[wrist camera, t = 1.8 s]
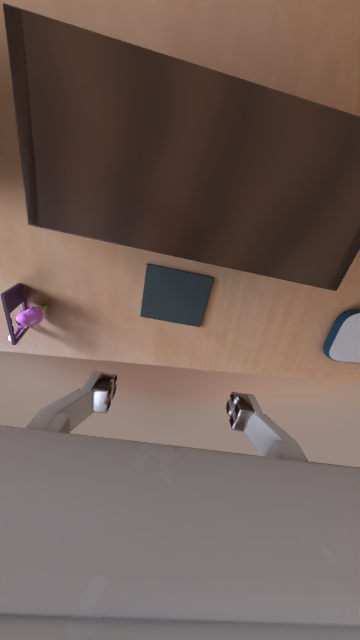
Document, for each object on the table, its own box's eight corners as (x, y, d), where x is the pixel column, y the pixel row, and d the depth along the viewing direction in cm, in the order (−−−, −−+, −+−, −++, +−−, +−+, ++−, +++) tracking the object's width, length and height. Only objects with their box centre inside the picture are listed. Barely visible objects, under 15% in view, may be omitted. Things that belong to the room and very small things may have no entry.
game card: (-6, 293, 27) (6, 345, 30) (37, 295, 29) (44, 344, 32) (13, 282, 32) (22, 327, 36) (48, 284, 34) (53, 326, 38)
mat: (140, 315, 36) (140, 316, 35) (147, 263, 32) (147, 264, 31) (199, 326, 37) (200, 327, 36) (213, 277, 33) (213, 277, 32)
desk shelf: (112, 234, 30) (27, 224, 13) (116, 158, 26) (1, 1, 9) (252, 264, 32) (336, 291, 15) (274, 199, 28) (423, 136, 11)
